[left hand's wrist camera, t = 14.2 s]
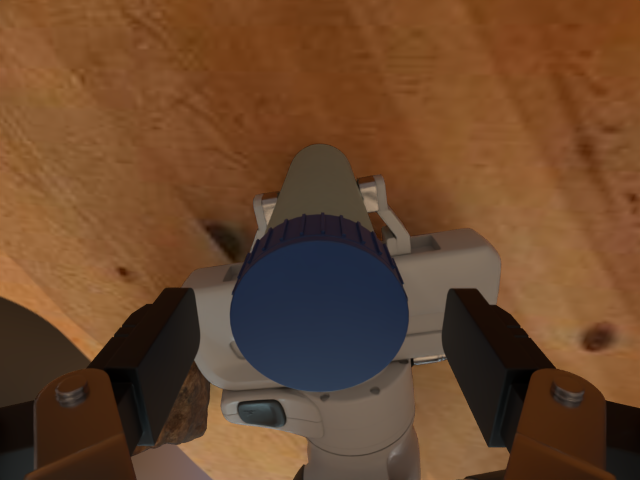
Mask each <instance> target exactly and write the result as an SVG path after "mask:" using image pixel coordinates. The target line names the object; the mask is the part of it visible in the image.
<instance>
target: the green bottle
mask: <svg viewBox="0 0 640 480" xmlns="http://www.w3.org/2000/svg"><path fill="white" fill-rule="evenodd" d="M321 212H324V214H325V215H334V216H340V215H343V218H346V219H349V220H351V221H354V222H356V223H357V221H359V222H360V223H361V225H362V226H363V227H365V228H366V229H368V230H369V231H370V232H372V231H374V229H373V226H372V224H371V221H370V218H369V215H368V213H367V210H366V207H365V204H364V202H363V199H362V196H361V193H360V191H359V188H358V185H357V182H356V180H355V177H354V174H353V171H352V169H351V166H350V163H349V161H348V159H347V158H346V156H345V155H344V154H343V153H342V152H341V151H340V150H338V149H337V148H335V147H333V146H330V145H326V144H315V145H311V146H308V147H306V148H304V149H303V150H301V151H300V152H299V153H298V154H297V155H296V156H295V157H294V159H293V161H292V163H291V165H290V168H289V170H288V173H287V176H286V178H285V181H284V184H283V186H282V189H281V191H280V194H279V197H278V199H277V202H276V205H275V207H274V210H273V212H272V215H271V218H270V220H269V223H268V226H267V228H266V231H265V234H266V233H267V232H268V229H269V228H270V227H272V229H273V228H274V227H276V226H277V225H279V224H281V223H283V222H284V220H285V219H288V220H290V219H293V218H296V217H300V216H302V214H306V215H314V214H321ZM265 234H264V235H265Z"/></svg>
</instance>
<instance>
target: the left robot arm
mask: <svg viewBox="0 0 640 480" xmlns="http://www.w3.org/2000/svg"><path fill="white" fill-rule="evenodd" d="M199 345H200V326H199V319H198V312H197V305H196V298H195V293H194V290H193V289H192V288H165V289H164V290H163V291H162V293H161V294H160V295H159V296H158V298H157V299H156V300H155V302H154V303H153V304H146V305H144V306H143V307H141V308H140V309H138V310H137V311H135V312H134V313H132V314H131V315H130V316H129V318H128V319H127V320H126V321H125V322H124V324H123V325H122V327H120V328H119V330H118V331H117V332H116V333H115V334H114V337H112V338H111V339H110V340H109V342H108V343H107V344H106V345H105V346H104V348H103V349H102V350H101V351H100V352H99V354H98V355H97V356H96V357H95V358H94V360H93V361H92V362H91V363H90V364H89V366H88V367H87V368H86V369H81V370H76V371H73V372H70V373H67V374H65V375H63V376H60V377H58V378H57V379H55V380H53V381H52V382H50V383H49V384H48V385H46V386H45V387H44V388H43V389H42V390H41V391H40V392H39V393H38V395H37V396H36V398H35V400H33V401H28V402H24V403H20V404H15V405H11V406H6V407H1V408H0V480H137V479H136V475H135V472H134V468H133V464H132V460H131V456H132V454H133V452H134V450H135V448H136V446H155V444H156V442H157V439H158V437H159V435H160V433H161V431H162V429H163V426H164V424H165V422H166V420H167V418H168V416H169V413H170V411H171V409H172V407H173V405H174V403H175V400H176V398H177V396H178V394H179V392H180V390H181V387H182V385H183V383H184V381H185V379H186V377H187V374H188V372H189V370H190V368H191V366H192V364H193V361H194V359H195V357H196V355H197V353H198V350H199ZM442 347H443V351H444V353H445V356H446V358H447V360H448V362H449V364H450V366H451V368H452V371H453V373H454V375H455V377H456V379H457V381H458V383H459V386H460V388H461V390H462V392H463V394H464V396H465V398H466V401H467V403H468V405H469V407H470V409H471V411H472V413H473V416H474V418H475V420H476V422H477V424H478V426H479V428H480V430H481V433H482V435H483V437H484V439H485V441H486V443H487V445H488V447H506V448H507V450H508V452H509V453H510V457H509V460H508V464H507V468H506V472H505V475H504V479H503V480H640V408H636V407H632V406H627V405H623V404H618V403H614V402H610V401H606V400H605V398H604V396H603V395H602V393H601V392H600V391H599V390H598V389H597V388H596V387H595V386H594V385H592V384H591V383H590V382H588V381H587V380H585V379H583V378H582V377H580V376H577V375H575V374H573V373H570V372H567V371H564V370H559V369H556V368H555V367H554V365H553V364H552V363H551V362H550V361H549V359H548V358H547V357H546V356H545V355H544V353H543V352H542V351H541V350H540V349H539V347H538V346H537V345H536V344H535V343H534V342H533V340H532V339H531V338H529V337H528V334H527V333H526V332H525V331H524V330H523V328H520V325H519V324H518V322H517V321H516V320H515V319H514V318H513V317H512V315H511V314H509V313H508V312H506V311H505V310H503V309H501V308H500V307H498V306H497V305H490V304H489V303H488V302H487V301H486V299H485V298H484V297H483V295H482V294H481V293H480V292H479V290H478V289H476V288H450V289H449V291H448V293H447V298H446V305H445V312H444V319H443V326H442Z"/></svg>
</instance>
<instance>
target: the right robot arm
mask: <svg viewBox="0 0 640 480" xmlns="http://www.w3.org/2000/svg"><path fill="white" fill-rule="evenodd" d="M357 185H358V188H359V191H360V193H361V196H362V199H363V202H364V204H365V207H366V210H367V213H370V212H377V213H378V214H379V216H380V217H381V218H382V220H383V221H384V222H385V223H386V225H387V226H383V227H382V228H381V230H382V240H383V241H381V242H382V244H384V243H385V244H386V245H387V248H388V250H389V252H390V255H391V257H392V258H394V260H395V263H396V265H397V267H398V270H399V272H400V275H401V277H402V279H403V282H404V284H403V287H404V290H405V292H406V295H407V297H408V308H409V324H408V330H407V334H406V337H405V340H404V342H403V344H402V346H401V348H400V350H399V352H398V353H397V355H396V356H395V358H394V359H393V360H392V361H391V362H390V363H389V364H388V366H386V367H385V368H384V369H383V370H382V371H381V372H380V373H378V374H377V375H375V376H374V377H372V378H371V379H369V380H367V381H365V382H363V383H361V384H358V385H356V386H353V387H350V388H346V389H343V390H337V391H329V392H309V391H302V390H297V389H293V388H289V387H286V386H284V385H281V384H278V383H276V382H274V381H272V380H270V379H269V378H267V377H265V376H264V375H262V374H261V373H260V372H258V371H257V370H256V369H255V368H254V367H253V366H252V365H251V364H250V363H249V362H248V361H247V360H246V359H245V358H244V356H243V355H242V353H241V352H240V350H239V348H238V347H237V345H236V343H235V340H234V337H233V335H232V330H231V326H230V305H231V301H232V297H233V295H231V294H232V291H233V289H234V286H235V284H236V282H237V279H238V278H237V277H238V274H239V272H240V270H241V267H242V265H243V263H244V262H240V263H233V264H227V265H220V266H213V267H207V268H200V269H196V270H194V271H193V272H192V273H191V274H190V275H189V277H188V278H187V279H186V281H185V282H184V283H183V285H182V287H181V288H192V289H193V290H194V293H195V298H196V305H197V312H198V319H199V326H200V345H199V350H198V353H197V355H196V357H195V359H194V361H195V363H196V364H197V366H198V368H199V370H200V371H201V373H202V374H203V375H204V377H205V378H206V379H207V380H208V381H209V382H211V383H212V384H213V385H215V386H217V387H219V388H222V389H223V393H222V399H221V410H222V413H223V415H224V417H225V419H226V420H228V421H229V422H231V423H235V424H241V425H250V426H258V427H265V428H271V429H277V430H282V431H286V432H290V433H294V434H297V435H301V436H304V437H306V439H307V441H308V446H307V452H308V464H307V465H303V466H302V467H301V468H300V469H299V471H298V472H297V474H296V475H295V477H294V479H293V480H421V471H420V452H419V444H418V438H417V435H416V432H415V429H414V427H413V422H414V417H415V399H414V389H413V378H412V370H411V367H412V366H414V365H422V364H429V363H436V362H438V361H439V362H440V361H442V360H443V361H444V360H447V358H446V356H445V353H444V351H443V347H442V326H443V319H444V312H445V305H446V298H447V293H448V291H449V289H450V288H476V289H478V290H479V292H480V293H481V294H482V295H483V297H484V298H485V299H486V301H487V302H488V303H489V304H490V305H496V304H497V298H498V292H499V284H500V274H501V259H500V256H499V254H498V252H497V251H496V249H495V248H494V247H493V246H492V245H491V244H490V243H489V242H488V241H487V240H486V239H485V238H484V237H483V236H481V235H480V234H478V233H477V232H476V231H474V230H473V229H470V228H463V229H456V230H449V231H443V232H436V233H430V234H423V235H417V236H410V235H409V233H408V231H407V230H406V228H405V226H404V225H403V223H402V222H401V220H400V219H399V218H398V217H397V215H396V214H395V213H394V211H393V210H392V209H391V208H390V206H389V205H388V204H387V197H386V188H385V182H384V178H383V177H382V175H381V174H379V175H373V176H367V177H362V178H357ZM279 194H280V191H277V192H271V193H263V194H258V195H256V196H255V197H254V199H253V207H254V211H255V216H256V220H257V224H258V230H257V232H256V235H255V238H254V241H253V244H252V247H251V250H250V253H251V251H252V249H253V247H254V244H255V242H256V240H257V239H259V240H260V239H261V238H262V237H263V236H264V234H265V231H266V228H267V226H268V223H269V220H270V218H271V215H272V212H273V210H274V207H275V205H276V202H277V199H278V197H279ZM505 472H506V469H505V470H499V471H494V472H489V473H483V474H478V475H472V476H467V477H465V478H464V479H458V480H503V479H504V475H505Z"/></svg>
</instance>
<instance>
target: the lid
mask: <svg viewBox="0 0 640 480" xmlns="http://www.w3.org/2000/svg"><path fill="white" fill-rule="evenodd" d="M237 278H238V279H237V282H236V284H235V286H234V289H233V291H232V294H231V295H233V297H232V301H231V305H230V326H231V330H232V335H233V337H234V340H235V343H236V345H237V347H238V348H239V350H240V352H241V353H242V355H243V356H244V358H245V359H246V360H247V361H248V362H249V363H250V364H251V365H252V366H253V367H254V368H255V369H256V370H257V371H258V372H260V373H261V374H262V375H264V376H265V377H267V378H269V379H270V380H272V381H274V382H276V383H278V384H281V385H284V386H286V387H289V388H293V389H297V390H302V391H309V392H329V391H337V390H343V389H346V388H350V387H353V386H356V385H358V384H361V383H363V382H365V381H367V380H369V379H371V378H372V377H374V376H375V375H377V374H378V373H380V372H381V371H382V370H383V369H384V368H385V367H386V366H388V364H389V363H390V362H391V361H392V360H393V359H394V358H395V356H396V355H397V353H398V352H399V350H400V348H401V346H402V344H403V342H404V340H405V337H406V334H407V330H408V324H409V308H408V297H407V295H406V292H405V290H404V287H403V284H404V282H403V279H402V277H401V275H400V272H399V270H398V267H397V265H396V263H395V260H394V258H392V257H391V255H390V252H389V250H388V248H387V245H386V244H385V243H384V244H382V242H381V241H380V240H379V239H378V238H377V236H376V234H375V232H374V231H372V232H370V231H369V230H368V229H366V228H365V227H363V226H362V225H361V223H360V222H359V221H357V223H356V222H354V221H351V220H349V219H346V218H343V215H340V216H334V215H325V214H324V212H321V214H314V215H306V214H302V216H300V217H296V218H293V219H290V220H288V219H285V220H284V222H283V223H281V224H279V225H277V226H276V227H274V228H273V229H272V227H270V228H269V229H268V232H267V233H266V234H265V235H264V236H263V237H262V238H261V239H260V240H259V239H257V240H256V242H255V244H254V247H253V249H252V251H251V253H249V252H248V254H247V256H246V258H245V261H244V263H243V265H242V267H241V270H240V272H239V274H238V277H237Z"/></svg>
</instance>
